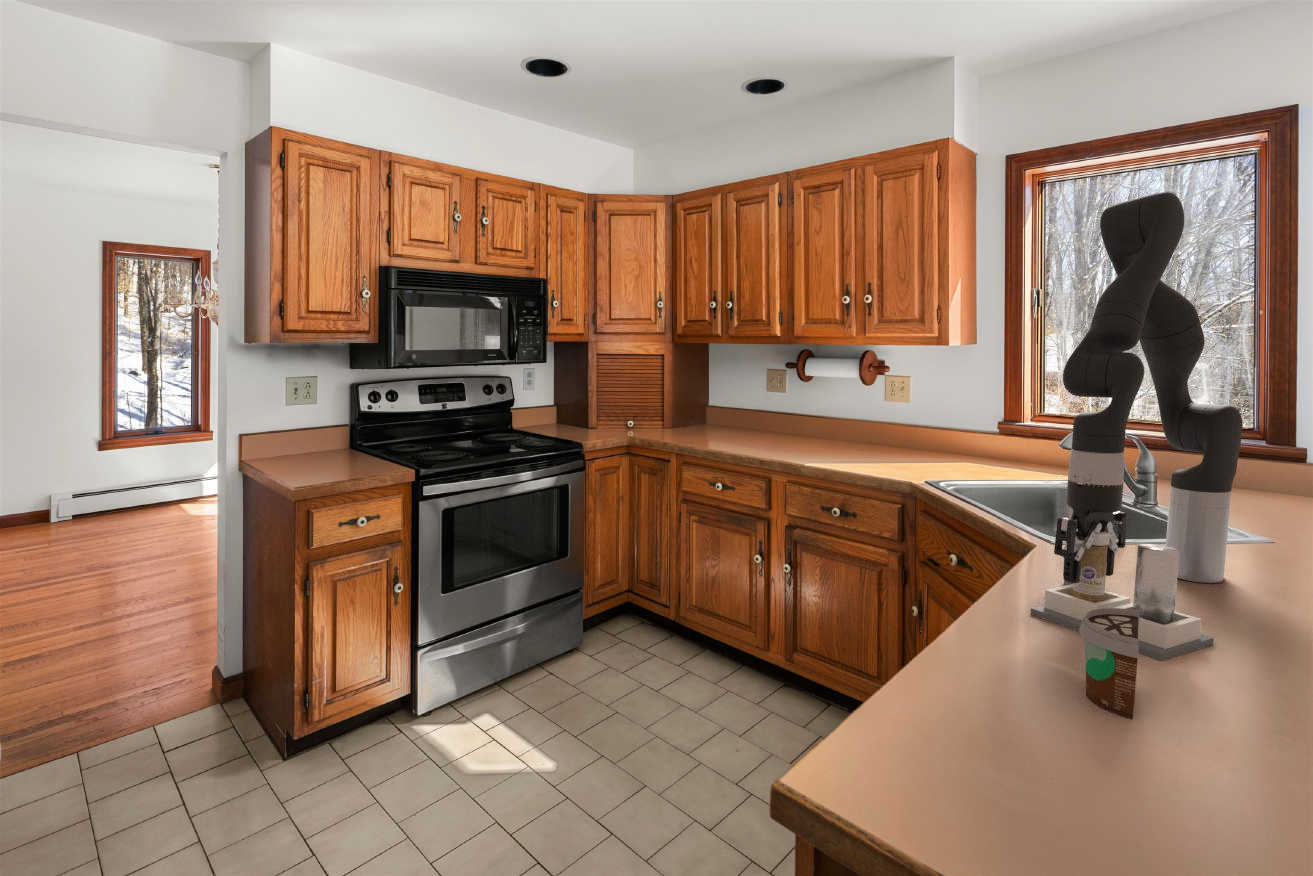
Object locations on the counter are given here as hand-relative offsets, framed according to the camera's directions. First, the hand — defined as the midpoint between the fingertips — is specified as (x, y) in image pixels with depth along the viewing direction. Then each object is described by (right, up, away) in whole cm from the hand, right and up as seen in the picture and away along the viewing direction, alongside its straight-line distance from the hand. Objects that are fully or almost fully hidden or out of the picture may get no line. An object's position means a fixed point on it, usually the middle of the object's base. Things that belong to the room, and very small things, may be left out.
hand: (1088, 578), depth 113 cm
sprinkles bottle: (0, -6, +1) cm, 6 cm away
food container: (-14, -10, -26) cm, 31 cm away
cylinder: (+4, -8, -8) cm, 12 cm away
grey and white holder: (+2, -7, -4) cm, 8 cm away
